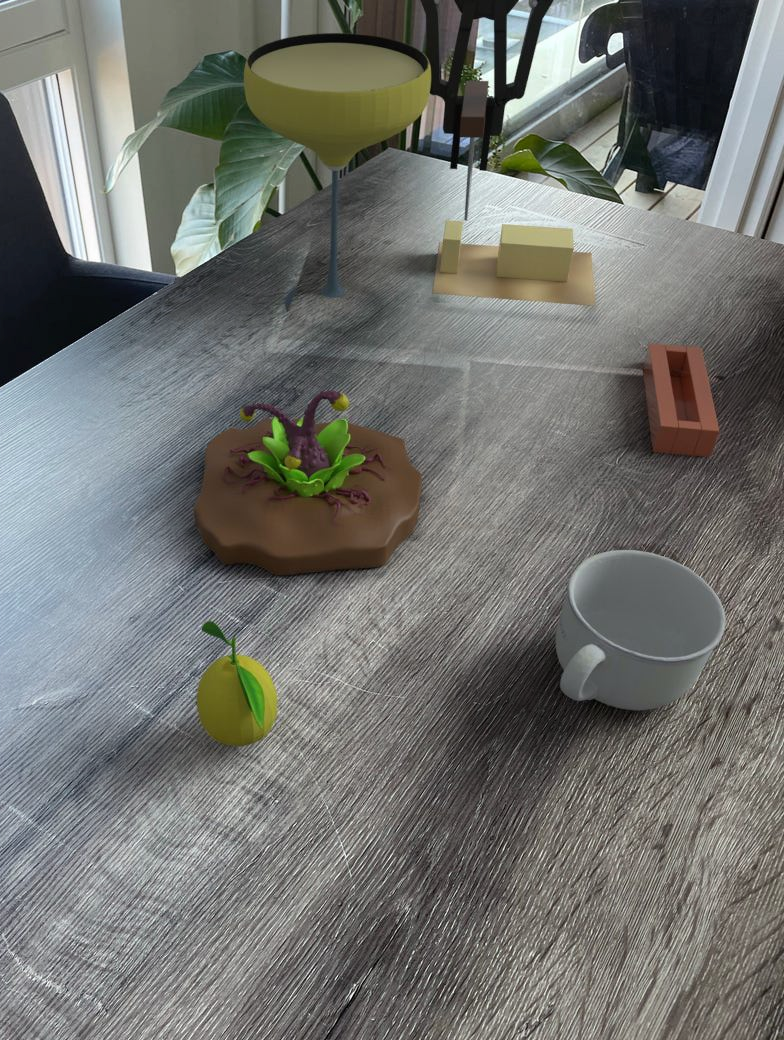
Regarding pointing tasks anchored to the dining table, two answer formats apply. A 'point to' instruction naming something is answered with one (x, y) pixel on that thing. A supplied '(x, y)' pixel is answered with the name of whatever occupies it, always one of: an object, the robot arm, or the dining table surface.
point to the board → (513, 279)
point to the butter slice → (451, 246)
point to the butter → (535, 252)
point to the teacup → (635, 630)
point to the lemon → (235, 697)
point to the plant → (306, 493)
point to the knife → (473, 123)
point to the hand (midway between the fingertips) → (468, 164)
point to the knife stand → (679, 400)
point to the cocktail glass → (336, 100)
